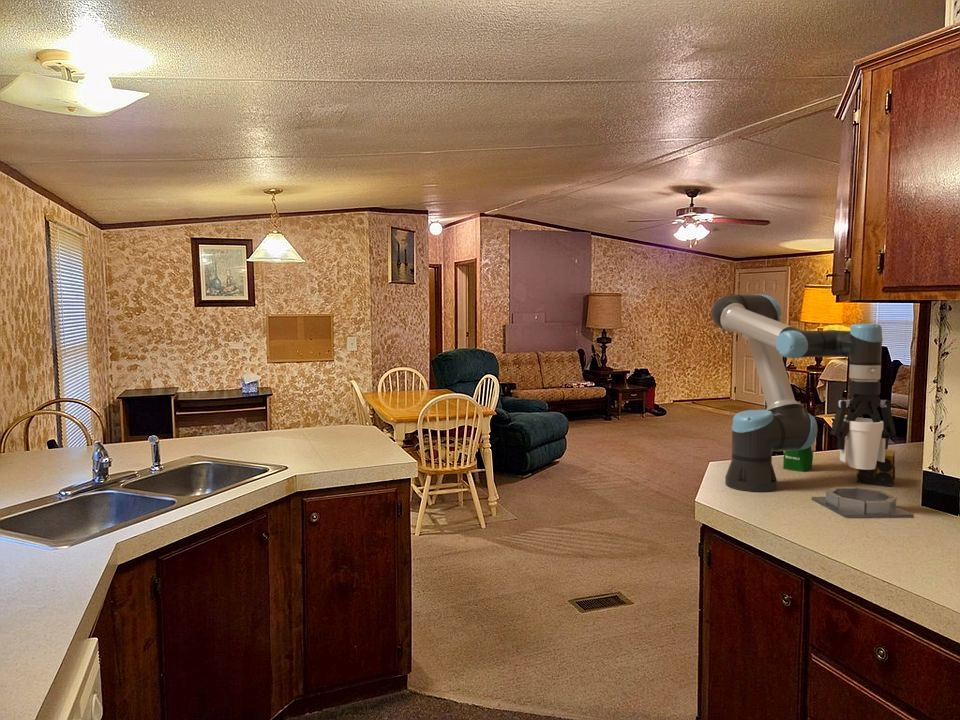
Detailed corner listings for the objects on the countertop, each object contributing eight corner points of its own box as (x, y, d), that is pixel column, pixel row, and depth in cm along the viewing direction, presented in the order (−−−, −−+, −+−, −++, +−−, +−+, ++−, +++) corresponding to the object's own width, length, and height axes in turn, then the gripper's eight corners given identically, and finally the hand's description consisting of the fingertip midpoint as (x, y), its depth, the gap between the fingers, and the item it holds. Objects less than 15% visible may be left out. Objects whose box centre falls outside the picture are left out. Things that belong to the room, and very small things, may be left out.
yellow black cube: (895, 481, 219) (896, 450, 218) (893, 487, 210) (894, 455, 210) (858, 476, 224) (860, 447, 224) (856, 483, 216) (857, 452, 215)
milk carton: (815, 468, 236) (817, 411, 234) (804, 472, 230) (806, 414, 228) (790, 464, 242) (791, 409, 241) (779, 468, 236) (780, 411, 235)
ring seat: (846, 518, 179) (846, 503, 179) (811, 499, 197) (811, 486, 197) (913, 517, 179) (914, 503, 179) (872, 499, 197) (873, 486, 197)
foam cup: (887, 471, 181) (888, 423, 181) (849, 470, 183) (851, 422, 183) (874, 464, 191) (875, 418, 190) (838, 462, 193) (839, 417, 192)
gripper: (832, 381, 182) (829, 464, 183) (913, 381, 182) (910, 463, 183) (817, 379, 189) (815, 458, 191) (896, 378, 190) (893, 458, 191)
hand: (862, 461), depth 187 cm, fingers closed on foam cup, 9 cm apart
